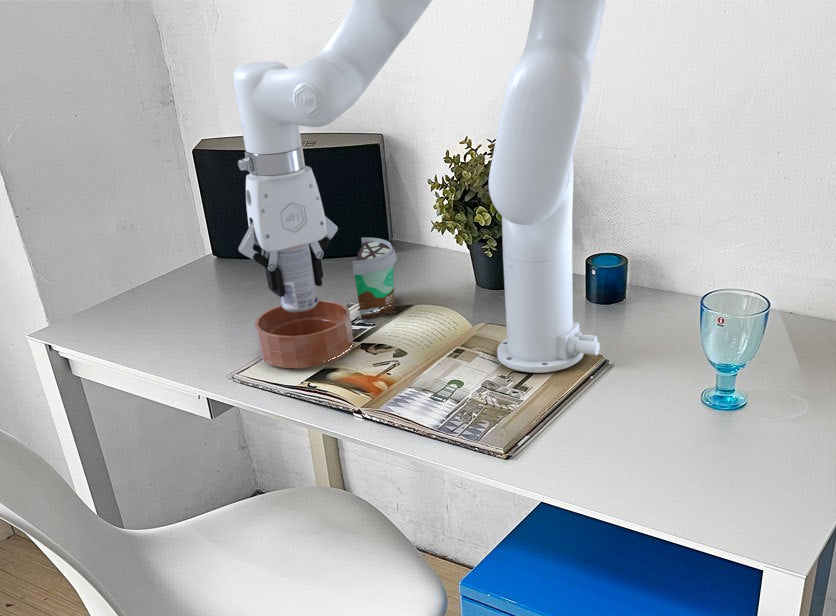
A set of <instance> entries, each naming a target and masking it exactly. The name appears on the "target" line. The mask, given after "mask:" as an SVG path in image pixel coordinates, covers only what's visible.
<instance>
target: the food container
mask: <svg viewBox="0 0 836 616" xmlns="http://www.w3.org/2000/svg"><path fill="white" fill-rule="evenodd" d="M397 259H398V257H397V254H396V251H395V249H394V247H393V245H392V243H391V242H390V241H388V240H386V239H383V238H378V237H361V247H360V249H359V251H357V256H356V260H352V273H353V276H354V280H355V287H356V293H357V300H358V307H359V313H360V318H361V320H368V319H374V318H379V317H381V316H385V315H387V314H388V313H390V312H392V311H393V310H394V309H395V306H396V302H395V301H396V300H395V279H394V276H395V275H394V264H395V263H396V262H397ZM389 305H391V306H389ZM385 306H389V307H387V308H385V309H383V310H380V311H376V312H371V313H365V312H369V311H374V310H378V309H380V308H382V307H385ZM361 313H362V314H361Z"/></svg>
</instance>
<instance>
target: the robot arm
mask: <svg viewBox="0 0 836 616" xmlns="http://www.w3.org/2000/svg"><path fill="white" fill-rule="evenodd" d="M432 2H433V0H352V3H351V5H350V7H349V9H348V11H347V13H346V15H345V17H344V18H343V20H342V22H340V24H339V26H338V28H337V29H336V30H335V32H334V33H333V35H332V36H331V37H330V39H329V41H328V42H327V43H326V45H325V46H324V47H323V48H322V49H321V51H320V52H319V53H318V54H317V56H315V57H313V58H312V59H310V60H309V61H307V62H305V63H302V64H300V65H298V66H295V67H289V66H287V65H286V64H284V63H282V62H278V61H257V62H251V63H246V64H243V65H240V66H238V67H237V68H236V69H235V70H234V72H233V78H232V81H233V89H234V93H235V96H236V97H235V99H236V104H237V109H238V115H239V121H240V127H241V132H242V137H243V142H244V149H245V151H244V158H242V159H238V161H237V166H238V168H239V170H240V171H247V172H248V173H249V174H246V176H245V205H246V214H247V223H248V229H247V230H246V233H245V234H244V236H243V238H242V239H241V242H240V244H239V246H238V249H237V250H238V252H239V253H240V254H242V255H243V256H245V257H247V258H249V259H251V260H253V261H254V262H256V263H257V264H259V265H260V266H262V267H263V268H264V270H265V276H266V280H267V281H266V282H267V286H268V289H269V290H270V291H271V292H272V293H273V294H275V295H277V296H278V297H279V298H280V297H282V296H284V295H285V292H284V287H283V281H282V275H281V271H280V270H279V269H278V268H277V257H278V251H281V250H285V249H289V248H292V247H295V246H298V245H305V244H309V247H310V254H311V260H312V267H313V273H314V280H315V286H316V287H322V286H323V279H322V278H324V272H323V265H322V259H323V257H324V252H325V251H326V249H327V248H328V246H329V244H330V243H331V242H330V241H331V240H332V239H333V237H334V236H335V235H336V234H337V232H338V230H339V228H338V226H337V225H336V224H335V223H334V222H333V221H332V220H330V219H329V218H328V217H327V215H325V210H324V206H323V202H322V198H321V194H320V190H319V186H318V183H317V180H316V177H315V175H314V172H313V169H312V167H311V166H308V165H306V164H305V157H304V150H303V144H302V136H301V129H300V126H301V127H308V128H320V127H325V126H328V125H329V124H331V123H333V122H334V121H336V119H338V118H339V117H341V115H343V114H344V113H345V112H346V111H347V110H349V109H351V107H353V106H354V105H355V103H356V102H357V101H358V100H359V99H360V98H361V97H362V95H363V94H364V93H365V91H366V90H367V89H368V87H369V86H370V85H371V84H372V82H373V81H374V79H375V78H376V77H377V75H378V74H379V73H380V71H381V70H382V69H383V67H384V66H385V65H386V63H387V62H388V60H389V59H390V58H391V56H392V55H393V54H394V53H395V51H396V49H397V48H398V47H399V46H400V44H401V43H402V42H403V41H404V40H405V39H406V38H407V37H408V35H409V33H410V32H411V30H412V29H413V27H414V26H415V25H416V23H417V22H418V21H419V19H420V18H421V17H422V16H423V14H424V13H425V11H426V10H427V9H428V7H429V5H430V4H431V3H432ZM606 4H607V0H533V6H532V13H531V18H530V24H529V28H528V32H527V37H526V42H525V46H524V49H523V53H522V55H521V57H520V58H519V60H518V62H517V63H516V65H515V66H514V67H513V69H512V71H511V72H510V75H509V77H508V80H507V84H506V88H505V91H504V96H503V99H502V105H501V110H500V116H499V122H498V126H497V131H496V138H495V142H494V147H493V153H492V158H491V163H490V169H489V175H488V193H489V197H490V200H491V202H492V205H493V206H494V208H495V209H496V212H498V213H499V215H500V216H501V234H502V235H501V236H502V237H501V238H502V240H501V241H502V265H503V266H502V267H503V283H504V285H503V287H504V305H505V325H506V327H505V328H506V338H505V339H504V340H502V341H501V342H500V343H499V344H498V346H497V349H496V356H497V360H498V361H499V362H500V363H501V364H502V365H503V366H504V367H507V368H508V369H511V370H514V371H517V372H523V373H532V374H533V373H535V374H540V373H543V374H544V373H552V372H558V371H562V370H565V369H568V368H570V367H572V366H574V365H576V364H577V363H578V362H580V361H581V360H582V359H583V358H584V355H588V356H589V355H590V356H595V357H596V356H598V355H599V353H600V350H601V344H600V341H598V336H597V335H593V334H583V332H581V331H580V322H576V321H574V315H573V314H574V306H573V305H574V301H573V300H574V299H573V296H574V294H573V291H574V289H573V208H574V207H573V204H574V174H575V173H574V172H575V171H574V159H573V158H574V153H575V149H576V146H577V140H578V137H579V133H580V128H581V123H582V120H583V115H584V112H585V107H586V104H587V102H588V99H589V95H590V90H591V83H592V81H591V80H592V72H593V66H594V60H595V55H596V51H597V47H598V43H599V39H600V33H601V28H602V24H603V18H604V13H605V8H606ZM254 245H256V246H259V247H260V249H261V253H260V252H258V251H256V250H254Z"/></svg>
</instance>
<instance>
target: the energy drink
mask: <svg viewBox="0 0 836 616" xmlns="http://www.w3.org/2000/svg"><path fill="white" fill-rule="evenodd" d="M277 268H278V269H279V270H280V271H281V275H282V281H283V287H284V292H285V295H284V296H282V297H279V300H280V305H281V306H282V308H283V309H284V310H286V311H288V312H304V311H308V310H311V309H313V308H314V307H315V306H316V305H317V303H318V300H319V298H318V292H317V286H316V285H315V280H314V273H313V267H312V260H311V254H310V247H309V244H305V245H298V246H295V247H292V248H289V249H285V250H281V251H278V257H277Z"/></svg>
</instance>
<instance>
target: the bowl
mask: <svg viewBox="0 0 836 616" xmlns="http://www.w3.org/2000/svg"><path fill="white" fill-rule="evenodd" d="M351 317H352V316H351V311H350V309H349V308H348V307H347V306H346V305H345V304H343V303H339V302H337V301H331V300H326V299H318V303H317V305H316V306H315V307H314V308H313V309H311V310H308V311H304V312H288V311H286V310H284V309H283V308H282V306H281V304H280V305H278V306H275V307H271V308H269V309H268V310H266V311H264V312H263V313H261V314H259V316H258V317H257V318H255V322H254V329H255V335H256V339H257V344H258V350H259V354H260V357H261V358H262V360H263V361H264V362H265V363H267V364H269V365H271V366H273V367H278V368H284V369H304V368H305V369H306V368H314V367H318V366H322V365H326V364H330V363H332V362H335V361H337V360H339V359H342V358H343V357H345V356H346V355H348V354H349V353H351V352H352V350H353V348H354V347H355V343H354V344H353V339H354V333H353V325H352V319H351ZM354 340H355V339H354ZM352 344H353V345H352ZM351 345H352V347H351V348H350V346H351ZM349 348H350V350H348V349H349ZM346 350H348V351H347V352H345V351H346ZM343 352H345V353H344V354H342V353H343ZM341 354H342V355H341ZM339 355H341V356H339ZM337 356H339V357H337ZM334 357H336V358H334ZM332 358H334V359H332ZM330 359H331V360H330ZM328 360H329V361H328ZM324 361H325V362H324Z"/></svg>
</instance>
